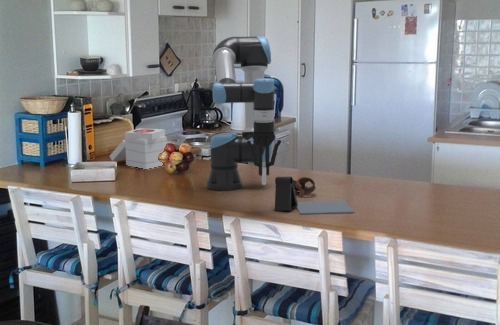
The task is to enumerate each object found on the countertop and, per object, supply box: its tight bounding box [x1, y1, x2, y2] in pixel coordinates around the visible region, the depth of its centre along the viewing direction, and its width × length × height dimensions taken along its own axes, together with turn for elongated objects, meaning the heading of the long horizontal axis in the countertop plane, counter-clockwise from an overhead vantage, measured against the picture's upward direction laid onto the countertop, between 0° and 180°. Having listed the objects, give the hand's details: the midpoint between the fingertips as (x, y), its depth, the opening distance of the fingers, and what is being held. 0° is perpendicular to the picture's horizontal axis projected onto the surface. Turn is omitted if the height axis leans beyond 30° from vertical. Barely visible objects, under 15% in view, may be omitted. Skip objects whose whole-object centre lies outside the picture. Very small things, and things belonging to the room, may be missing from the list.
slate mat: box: [295, 200, 355, 215], centre depth 237 cm, size 20×16×1 cm
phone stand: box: [274, 176, 298, 212], centre depth 235 cm, size 9×6×12 cm, turn 155°
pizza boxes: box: [109, 127, 168, 170], centre depth 321 cm, size 19×30×18 cm, turn 51°
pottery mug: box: [293, 176, 317, 198], centre depth 258 cm, size 12×10×8 cm
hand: (263, 183), depth 233 cm, fingers closed
